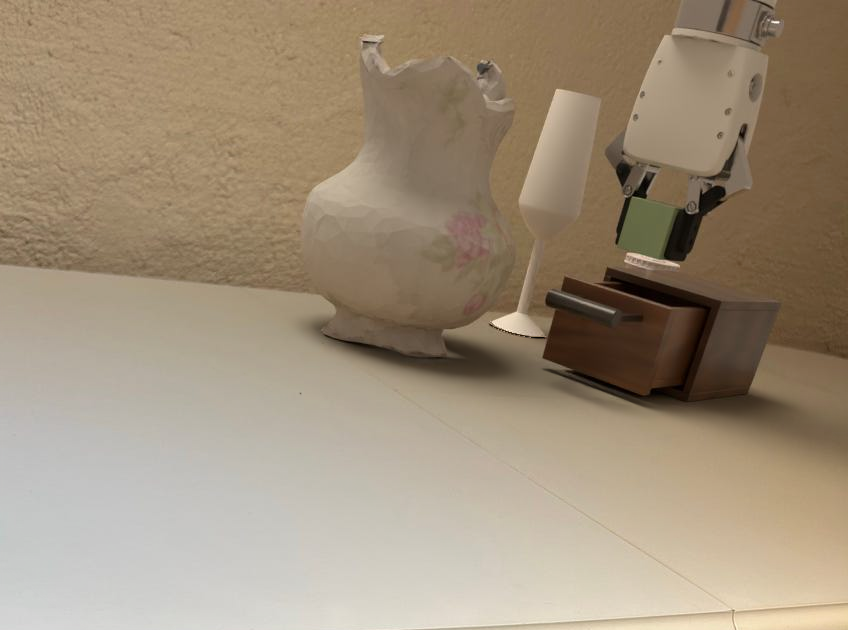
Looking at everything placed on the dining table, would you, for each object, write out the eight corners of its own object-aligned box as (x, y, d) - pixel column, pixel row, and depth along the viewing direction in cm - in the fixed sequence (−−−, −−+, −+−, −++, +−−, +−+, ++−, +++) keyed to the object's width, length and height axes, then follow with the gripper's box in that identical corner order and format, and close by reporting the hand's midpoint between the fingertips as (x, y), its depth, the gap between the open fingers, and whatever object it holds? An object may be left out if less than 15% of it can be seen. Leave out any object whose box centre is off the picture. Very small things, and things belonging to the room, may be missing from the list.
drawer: (611, 399, 90) (639, 308, 87) (507, 360, 96) (529, 273, 93) (707, 388, 104) (735, 309, 101) (611, 354, 110) (634, 278, 107)
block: (680, 261, 96) (697, 211, 94) (658, 259, 93) (675, 207, 91) (639, 249, 98) (654, 200, 96) (616, 247, 95) (631, 196, 93)
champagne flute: (555, 336, 119) (620, 103, 108) (531, 340, 113) (596, 96, 102) (504, 320, 121) (562, 91, 110) (478, 323, 116) (536, 83, 105)
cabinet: (686, 402, 101) (721, 301, 96) (578, 362, 107) (606, 266, 103) (747, 393, 111) (782, 302, 107) (646, 358, 118) (674, 271, 113)
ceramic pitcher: (342, 313, 111) (371, 46, 100) (520, 346, 106) (571, 71, 95) (258, 342, 92) (283, 17, 81) (470, 383, 88) (527, 45, 77)
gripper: (832, 49, 85) (749, 278, 94) (654, 22, 94) (593, 233, 103) (798, 31, 80) (714, 275, 88) (612, 4, 89) (552, 228, 97)
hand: (650, 250), depth 95 cm, fingers closed on block, 4 cm apart
